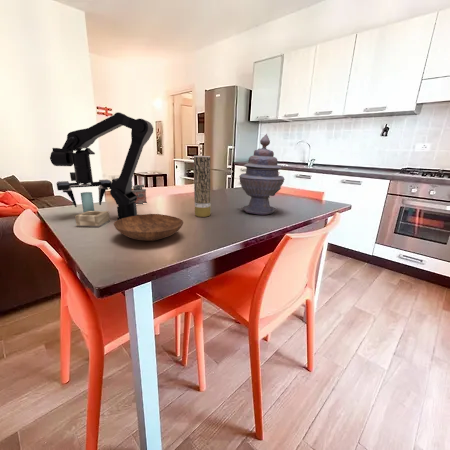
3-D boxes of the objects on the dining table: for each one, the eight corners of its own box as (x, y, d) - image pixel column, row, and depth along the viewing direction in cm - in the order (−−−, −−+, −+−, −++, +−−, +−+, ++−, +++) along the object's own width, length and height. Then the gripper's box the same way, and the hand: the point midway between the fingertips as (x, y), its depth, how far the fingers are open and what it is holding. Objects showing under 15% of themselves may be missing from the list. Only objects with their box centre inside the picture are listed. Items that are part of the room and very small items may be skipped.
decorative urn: (226, 209, 115) (234, 130, 105) (254, 206, 128) (264, 136, 119) (259, 220, 101) (272, 130, 91) (287, 215, 114) (301, 137, 105)
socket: (109, 221, 95) (108, 211, 93) (99, 227, 87) (97, 216, 86) (89, 220, 95) (87, 210, 93) (76, 226, 87) (75, 216, 86)
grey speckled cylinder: (211, 213, 109) (211, 155, 102) (209, 217, 102) (209, 155, 95) (196, 213, 109) (195, 155, 102) (193, 217, 103) (191, 155, 96)
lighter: (134, 205, 123) (133, 185, 120) (131, 204, 125) (129, 185, 122) (148, 203, 129) (146, 184, 127) (144, 202, 131) (143, 183, 128)
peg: (97, 215, 102) (93, 192, 99) (92, 218, 98) (88, 193, 96) (87, 215, 102) (84, 192, 100) (82, 218, 98) (78, 193, 96)
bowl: (155, 224, 92) (154, 211, 91) (196, 236, 79) (196, 221, 77) (103, 236, 77) (101, 221, 76) (142, 255, 64) (141, 237, 63)
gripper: (105, 165, 106) (109, 200, 111) (53, 166, 96) (60, 204, 100) (110, 166, 97) (114, 205, 102) (53, 167, 87) (61, 210, 92)
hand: (88, 206), depth 99 cm, fingers open, 8 cm apart
